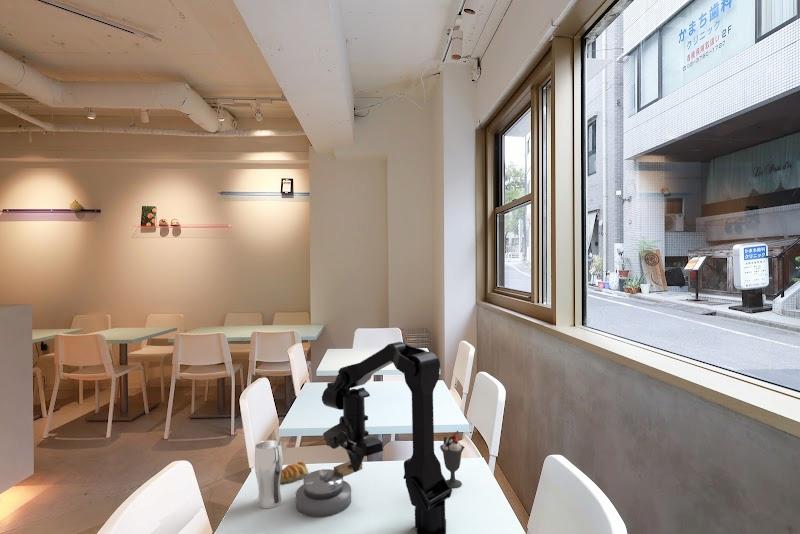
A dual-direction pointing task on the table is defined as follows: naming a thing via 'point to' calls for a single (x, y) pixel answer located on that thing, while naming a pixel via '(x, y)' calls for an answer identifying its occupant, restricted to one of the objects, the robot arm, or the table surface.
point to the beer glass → (268, 472)
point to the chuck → (326, 481)
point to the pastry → (294, 472)
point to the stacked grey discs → (323, 503)
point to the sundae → (452, 458)
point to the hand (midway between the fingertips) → (355, 471)
